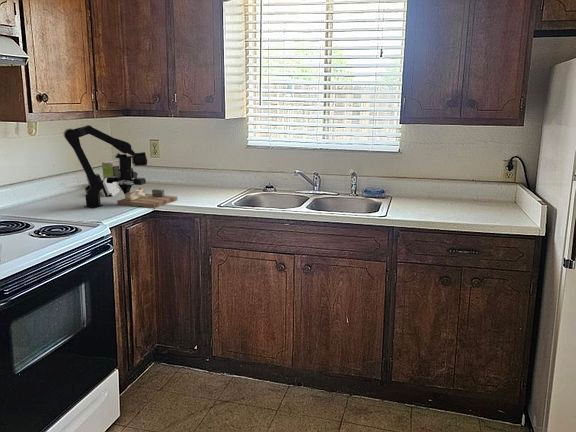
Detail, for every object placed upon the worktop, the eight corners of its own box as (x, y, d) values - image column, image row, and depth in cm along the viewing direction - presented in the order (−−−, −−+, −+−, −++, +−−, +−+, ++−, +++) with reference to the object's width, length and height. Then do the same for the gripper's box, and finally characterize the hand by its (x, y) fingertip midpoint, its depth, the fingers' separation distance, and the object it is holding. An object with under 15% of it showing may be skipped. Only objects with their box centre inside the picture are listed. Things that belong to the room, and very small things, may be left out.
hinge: (112, 196, 289) (105, 179, 287) (104, 199, 289) (96, 182, 287) (120, 190, 305) (112, 174, 303) (112, 193, 305) (105, 177, 303)
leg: (140, 195, 280) (139, 187, 279) (145, 195, 279) (144, 187, 278) (125, 200, 268) (124, 192, 267) (130, 200, 267) (130, 192, 266)
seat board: (154, 208, 261) (153, 196, 260) (117, 204, 269) (116, 193, 268) (177, 200, 279) (176, 189, 278) (142, 197, 287) (141, 186, 286)
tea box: (124, 182, 331) (122, 158, 327) (135, 184, 325) (133, 160, 322) (103, 186, 319) (101, 161, 315) (114, 188, 313) (112, 163, 310)
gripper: (150, 165, 274) (151, 195, 278) (116, 163, 277) (117, 193, 281) (140, 168, 263) (141, 199, 267) (105, 166, 267) (106, 197, 270)
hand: (127, 197), depth 272 cm, fingers closed
